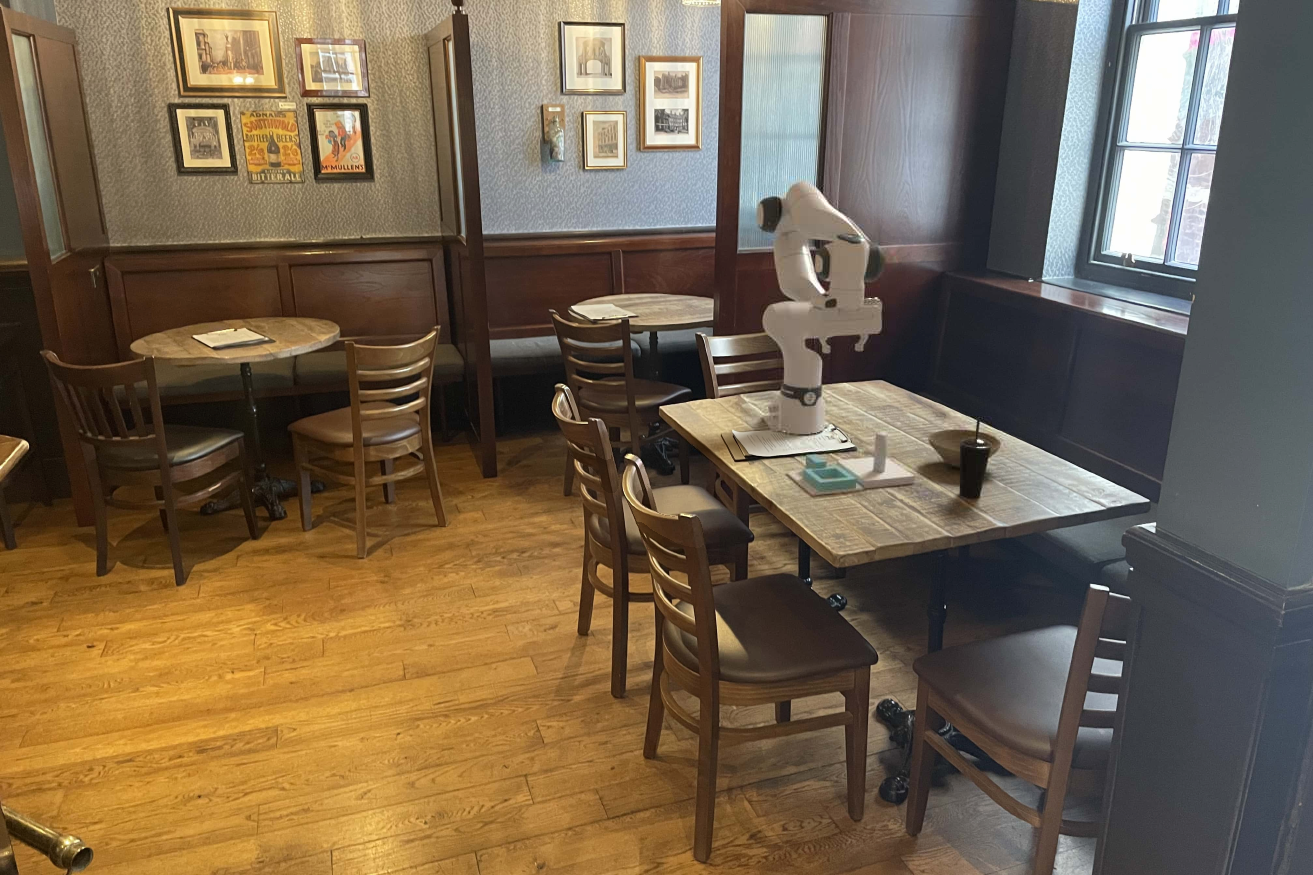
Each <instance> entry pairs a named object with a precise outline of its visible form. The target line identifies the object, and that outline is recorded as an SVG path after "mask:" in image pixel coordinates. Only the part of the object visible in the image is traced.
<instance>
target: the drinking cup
mask: <svg viewBox="0 0 1313 875" xmlns="http://www.w3.org/2000/svg"><path fill="white" fill-rule="evenodd" d="M980 423H981V417H977V418H976V424H975V425H976V426H975V431H976V433H975V437H970V438H966V439H962V440H960V442H959V444H960V468H959V495H960V496H961V497H962V498H964V499H965V498H966V499H972V500H973V499H975V500H976V499H979V498H980V497H981V494H982V493H981V492H982V488H983V484H984V481H985V477H986V476H985V474H986V471H987V466H988V462H989V459H990V458H989V453H990V449H991V448H992V443H990V442H989V441H986V440H985V439H982V438H978V433H979V432H980Z"/></svg>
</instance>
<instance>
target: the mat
mask: <svg viewBox="0 0 1313 875" xmlns="http://www.w3.org/2000/svg"><path fill="white" fill-rule="evenodd" d="M786 475H787V476H788V477H790V478H791V480H793V481H794V482H795V483H796V484H797V485H799V486H800V487H801V488H803V489H804V490H805V491H806V492H808V493H809V495H811V496H821V495H830V494H838V493H839V494H840V493H849V492H857V491H858V492H859V491H864V487H862V486H861V485H860V484H858V483H857V482H856V488H853V489H843V490H834V491H824V492H819V491H818V490H816V489H815V488H814V487H813V486H811V485H810V484H809V483H808V482H807V481H805V480H804V479H803V469H801V470H791V471H786ZM827 479H837V478H836V477H833V478H823V479H822V480H827Z"/></svg>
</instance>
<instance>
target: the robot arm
mask: <svg viewBox="0 0 1313 875" xmlns="http://www.w3.org/2000/svg"><path fill="white" fill-rule="evenodd" d="M755 216H756V220H757V225H758V228H759V229H760V230H761V231H762V232H765V233H770V234H774V233H779V234H778V235H777V236H776V237H775V239H774V241H773V242H774V243H773V258H774V263H775V264H774V265H775V270H776V274H777V275H776V276H777V281H778V284H779V285H778V286H779V289H780V291H781V293H783V295H784V296H786V297H788V298H789V299H792V300H793V301H791V300H790V301H788V300H787V301H781V302H777V303H772V304H770V305H768V306H767V307H766V309H765V311H764V312H763V316H762V327H763V329H764V331H765V333H766V334H767V336H769V337H771V338H772V339H773V340H774V341H775V343H777V345H778V346H779V348H780V351H781V352H782V353H781V354H782V357H783V368H784V369H783V371H784V372H783V381H782V383H781V387H780V394H778V395H776V397H775V398H773V400H771V403H770V404H769V405H768V407H767V408H768V409H767V410H768V412H767V413H764V414H762V419H763V420H764V422H765V423H766V426H768V428H769V430H770V431H771V432H777V431H785V432H789V433H796V434H795V435H798V434H809V433H816V432H820V431H822V430H823V429H824V430H825V429H826V428H829V427H830V426H829V424H830V423H829V422H828V421H826V401H825V400H824V399H823V398H822V395H823V384H822V372H823V370H822V369H823V361H822V358H821V356H820V355H819V354H818V353H817V352H816V351H814V350H812V349H810V348H808V347H806V339H807V340H808V339H818V340H819V342H820V344H821V347H822V349H821V350H822V353H823V354H830V353H831V346H830V345H828V343H827V342H826V341H827V340H828V338H831V337H836V336H854V335H859V337H860V339H859V340H858V343H857V342H856V343H855V344H854V346H855V347H854V350H855V351H856V352H863V351H864V345H865V344H866V342H867V341H868V339H869V335H872V334H874V335H876V334H879V333H880V332H881V331H882V327H883V326H882V325H883V322H882V319H883V318H882V311H883V302H882V301H881V299H879V298H878V297H872V298H871V297H865V289H866V288H865V283H873V282H875V281H876V280H877V279H878V278H879V277H881V275H882V274H883V273H884V271H885V270H886V263H887V262H886V260H887V259H886V255H885V253H884V251H883V249H882V248H881V246H879V245H878V243H876V242H873V241H871V240H870V238H869V237H868V236H867V235H866V234H865V233H864V232H863V231H862V229H861V228H859V226H858V225H857V224H856V223H855V222H854V221H853V220H852V218H850V217H849V216H847V215H845V214H843V213H842V212H840V211H839V210H837V209H836V208H834V207H833V205H831V204H830V203H829V201H828V200H827V198H826V196H824V194H822V192H821V191H820V190H819V189H818V187H817V186H815V185H814V184H812V183H811V182H808V181H799V182H795V183H794V184H792V185H791V186H790V187H789V189H788V190H787V192H786V195H780V196H776V195H775V196H774V195H773V196H768V197H765V198H762V200H761V201H760V202H759V203H758V205H757V209H756V215H755ZM808 239H810V240H811V239H812V240H820V241H821V240H823V241H830V243H828V244H826V245H822V246H820V248H819V249H818V250H817V251H816V252H815V254H814V261H813V258H812V255H811V250H810V248H809V242H808ZM818 278H819V279H820V280H822V281H825V282H830V284H829V288H828V289H829V290H827V291H826V290H825V289H824V287H822V285H821V284H820V281H819V280H818ZM825 427H826V428H825ZM824 430H823V431H824ZM823 431H822V432H823ZM785 432H784V433H785ZM789 433H788V434H789ZM820 433H821V432H820ZM816 434H817V433H816ZM809 435H810V434H809Z"/></svg>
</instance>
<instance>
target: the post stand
mask: <svg viewBox="0 0 1313 875" xmlns="http://www.w3.org/2000/svg"><path fill="white" fill-rule="evenodd" d="M888 438H889V434H888V433H887V432H883V431H881V432H880V431H878V432H876V433H875V439H874V441H875V443H874V454H873V456H872V457H862V458H850V459H840V460H836V466H839V467H841V468H842V469H844V470H845V471H846V472H848V473H849V474H851V475H852V476H853V477H855V478H856V479H857V481H856V483H858V484H859V485H860V486H862V487H863V489H871V488H882V487H890V486H891V487H892V486H893V487H894V486H899V485H900V486H901V485H910V484H911V485H912V484H915V479H916V476H915V475H914V474H913V473H911V472H909V471H908V470H907V469H905V468H903V467H901V466H900V465H899V464H897V463H895V462H894V461H892V460H890V459H889V458H888V457H887V453H888V452H887V451H888V450H887V449H888V440H889V439H888Z"/></svg>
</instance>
